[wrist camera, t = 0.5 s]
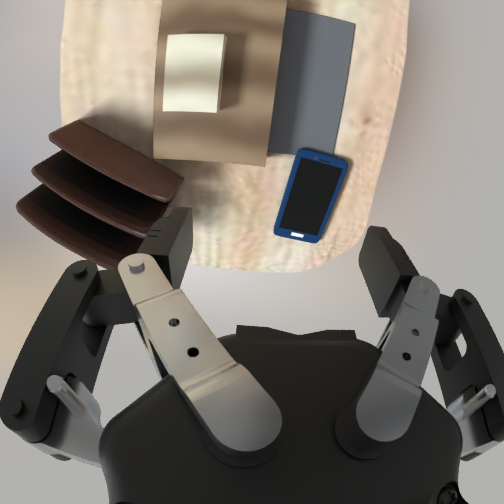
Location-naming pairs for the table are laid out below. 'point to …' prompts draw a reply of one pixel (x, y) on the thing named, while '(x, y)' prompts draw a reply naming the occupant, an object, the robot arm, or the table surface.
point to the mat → (310, 83)
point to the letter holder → (97, 195)
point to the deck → (223, 81)
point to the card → (194, 72)
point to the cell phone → (309, 195)
